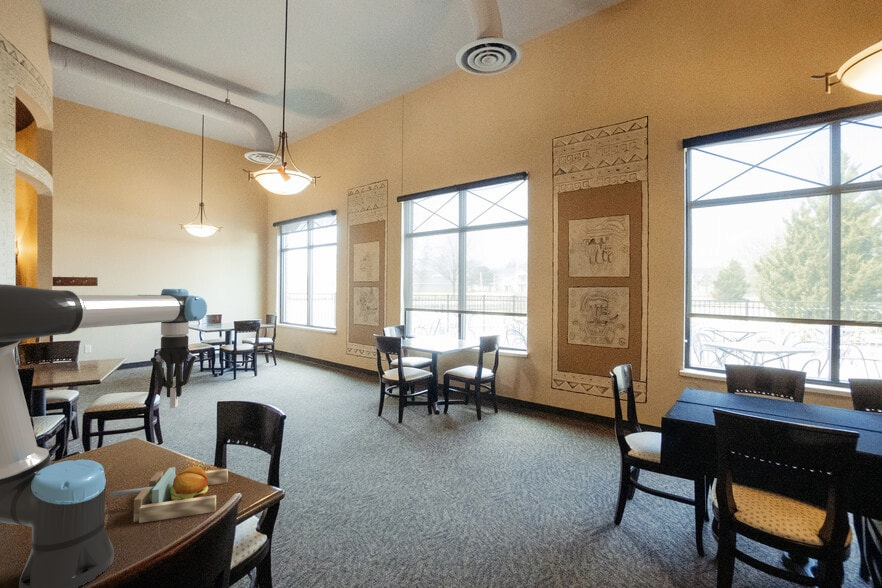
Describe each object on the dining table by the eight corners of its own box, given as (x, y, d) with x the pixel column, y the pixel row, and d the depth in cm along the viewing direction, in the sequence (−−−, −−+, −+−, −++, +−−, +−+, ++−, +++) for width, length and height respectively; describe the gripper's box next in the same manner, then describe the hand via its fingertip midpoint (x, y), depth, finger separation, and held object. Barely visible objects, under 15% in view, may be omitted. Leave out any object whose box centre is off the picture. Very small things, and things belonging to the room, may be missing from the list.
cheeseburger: (201, 484, 126) (205, 456, 124) (213, 504, 119) (216, 475, 117) (164, 495, 118) (167, 466, 117) (174, 517, 111) (177, 487, 110)
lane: (227, 480, 129) (228, 462, 129) (214, 511, 111) (215, 490, 111) (157, 489, 123) (158, 470, 123) (132, 524, 104) (132, 501, 104)
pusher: (175, 489, 122) (175, 467, 122) (158, 514, 108) (158, 489, 108) (121, 496, 118) (122, 473, 117) (97, 523, 104) (97, 497, 104)
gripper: (200, 333, 134) (199, 402, 134) (155, 334, 130) (154, 405, 130) (194, 336, 127) (193, 408, 127) (146, 337, 123) (146, 411, 123)
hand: (174, 406), depth 128 cm, fingers closed
